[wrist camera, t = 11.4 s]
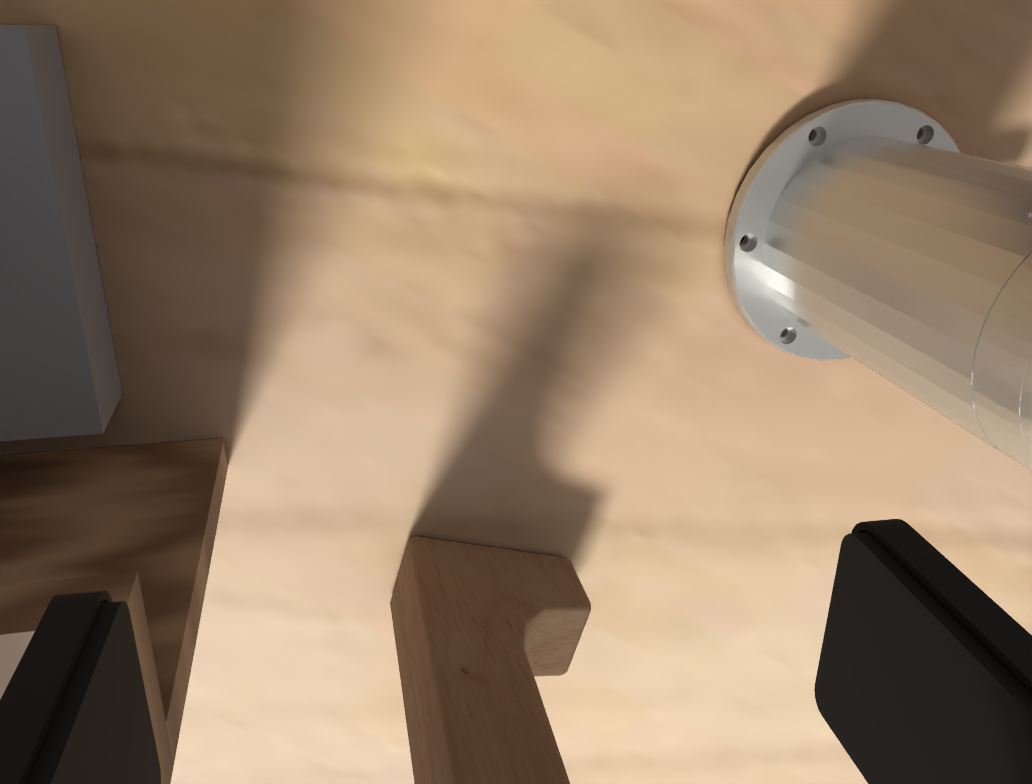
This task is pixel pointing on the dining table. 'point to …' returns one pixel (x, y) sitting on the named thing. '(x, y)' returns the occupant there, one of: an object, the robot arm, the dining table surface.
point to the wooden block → (483, 659)
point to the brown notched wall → (115, 553)
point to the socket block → (47, 255)
